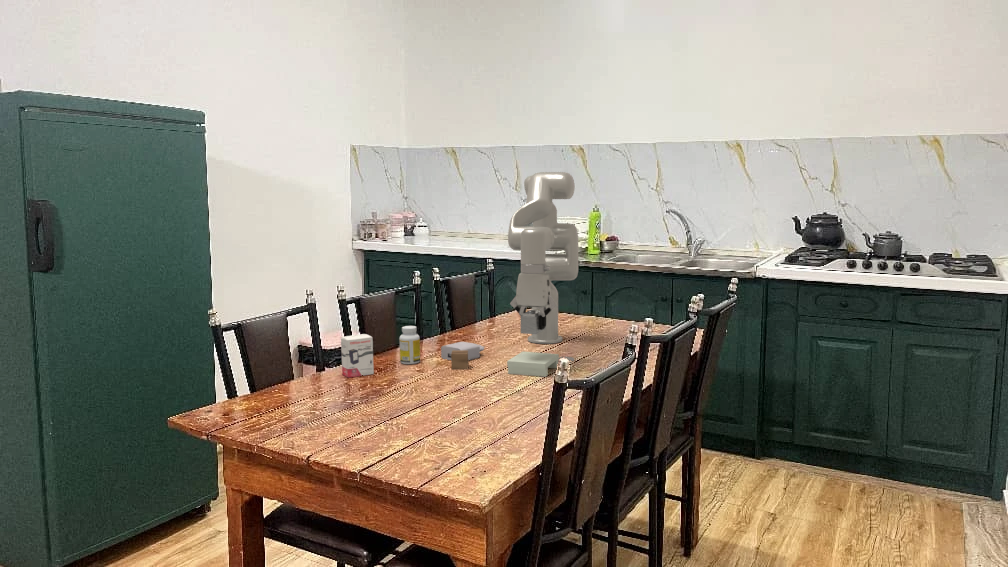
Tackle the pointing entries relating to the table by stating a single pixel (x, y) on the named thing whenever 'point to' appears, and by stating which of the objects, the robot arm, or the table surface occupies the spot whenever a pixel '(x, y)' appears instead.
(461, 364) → the walnut block
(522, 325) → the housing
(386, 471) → the table surface
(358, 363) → the white product box
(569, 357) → the grey disc
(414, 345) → the pill bottle
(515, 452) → the table surface
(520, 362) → the stand
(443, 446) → the table surface
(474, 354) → the charger
